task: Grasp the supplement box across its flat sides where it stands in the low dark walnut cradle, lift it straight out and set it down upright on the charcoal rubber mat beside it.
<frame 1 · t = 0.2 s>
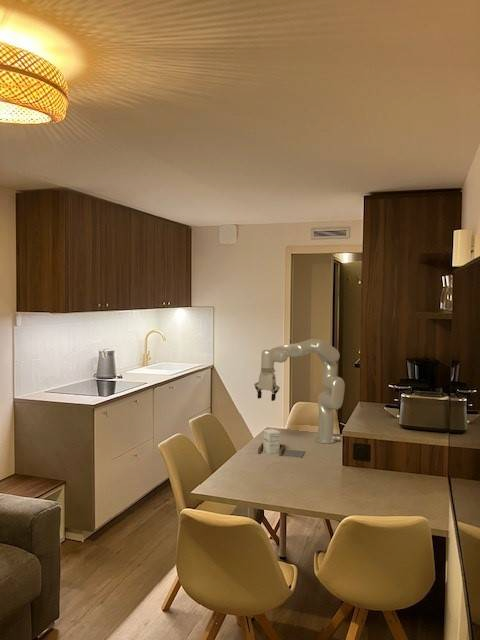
hand: (266, 399, 316), 30 cm above the table, tool pointing down, fingers open, 9 cm apart
charcoal mat: (294, 454, 310), on the table
supplement box: (271, 452, 313), on the table
walnut cradle: (271, 451, 313), on the table
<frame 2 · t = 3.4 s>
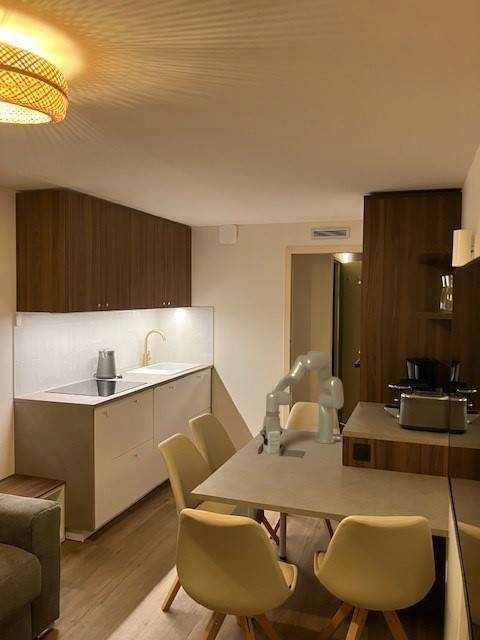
hand: (271, 443, 313), 5 cm above the table, tool pointing down, fingers closed on supplement box, 7 cm apart
supplement box: (271, 452, 313), on the table, touching gripper
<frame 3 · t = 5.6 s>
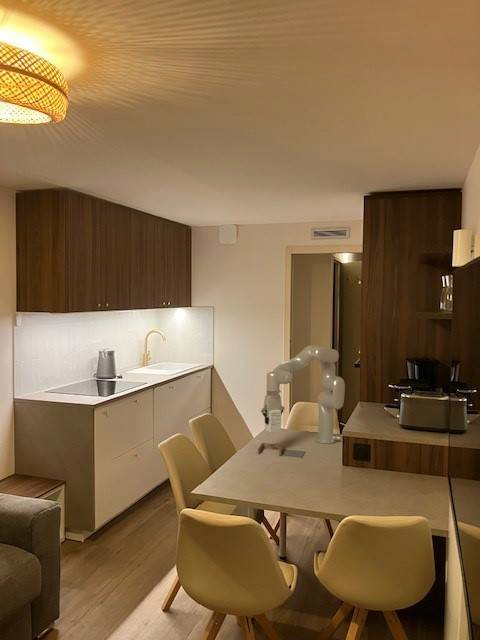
hand: (272, 422, 313), 17 cm above the table, tool pointing down, fingers closed on supplement box, 7 cm apart
supplement box: (272, 431, 313), point 12 cm above the table, touching gripper
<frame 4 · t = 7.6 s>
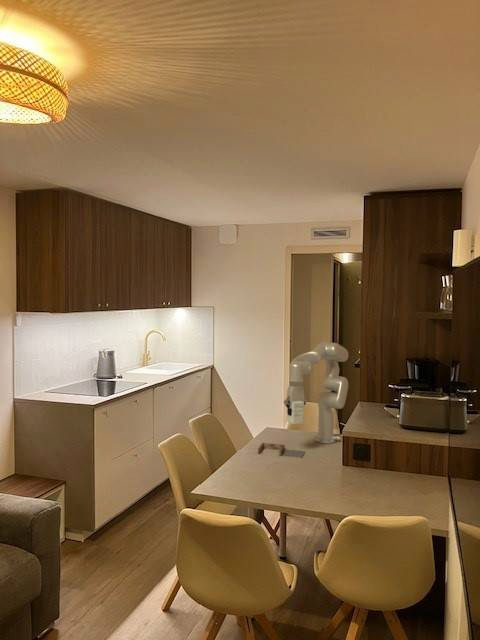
hand: (295, 414, 309), 24 cm above the table, tool pointing down, fingers closed on supplement box, 7 cm apart
supplement box: (295, 422, 309), point 18 cm above the table, touching gripper
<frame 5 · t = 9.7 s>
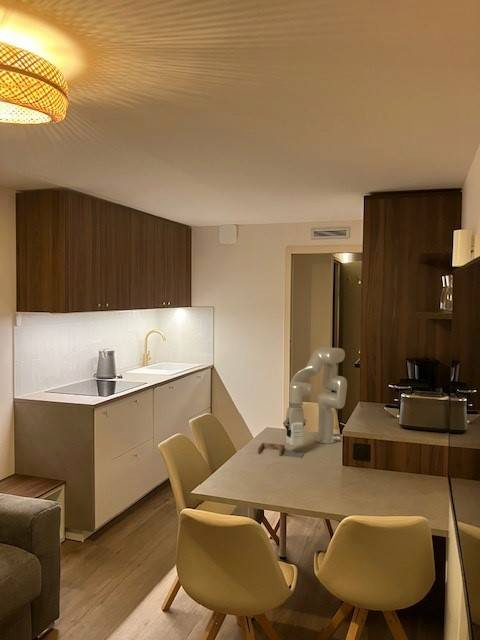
hand: (294, 435, 309), 11 cm above the table, tool pointing down, fingers closed on supplement box, 7 cm apart
supplement box: (294, 444, 310), point 6 cm above the table, touching gripper
when the fingers open (7 cm above the table, at t = 11.7 s): supplement box drops 1 cm, resting on charcoal mat.
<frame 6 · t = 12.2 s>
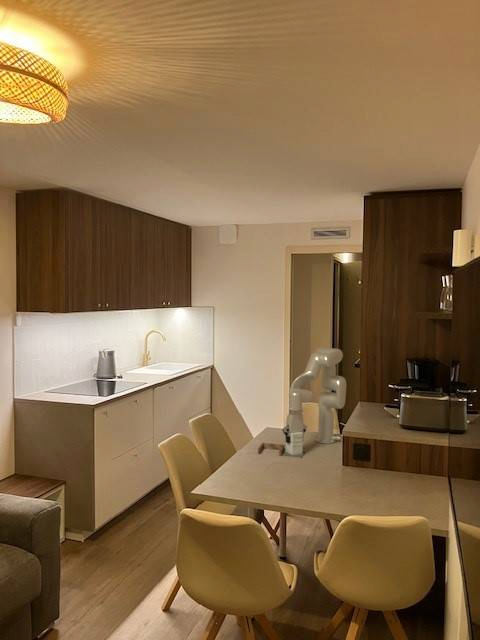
hand: (294, 441, 310), 7 cm above the table, tool pointing down, fingers open, 9 cm apart
supplement box: (293, 453, 310), resting on charcoal mat
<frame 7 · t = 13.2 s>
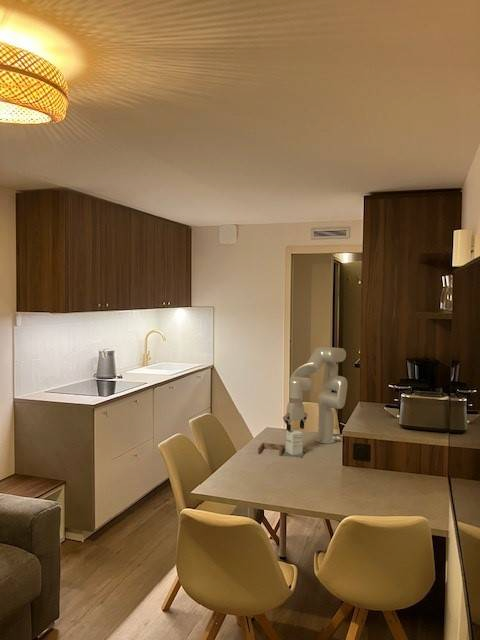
hand: (295, 429, 310), 14 cm above the table, tool pointing down, fingers open, 9 cm apart
nothing on the table moved.
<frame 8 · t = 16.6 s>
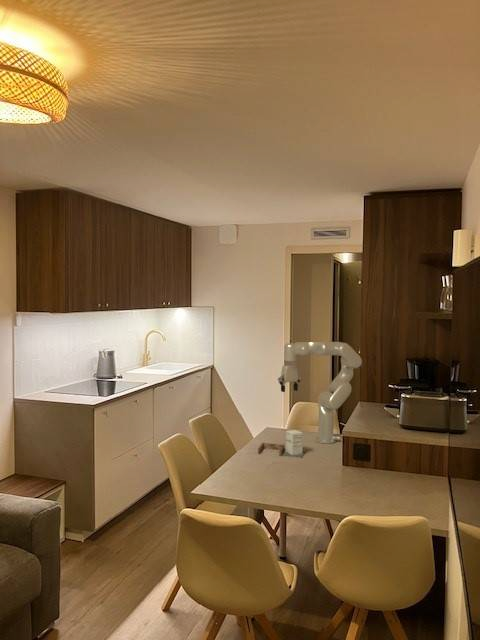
hand: (289, 391, 328), 33 cm above the table, tool pointing down, fingers open, 9 cm apart
nothing on the table moved.
at the end: supplement box inside the target area on the charcoal mat (0.2 cm from its centre), point 0.4 cm above the charcoal mat's base; supplement box tilted 0°; the gripper is holding nothing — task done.
